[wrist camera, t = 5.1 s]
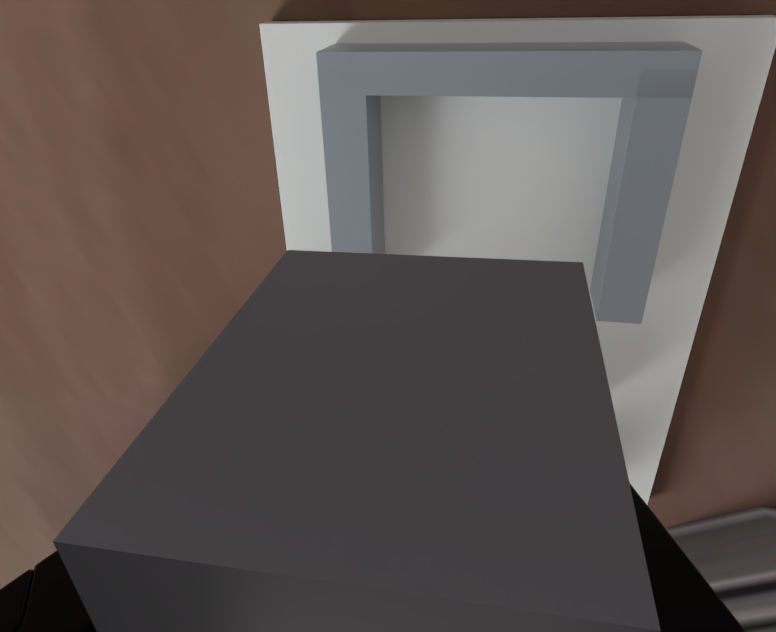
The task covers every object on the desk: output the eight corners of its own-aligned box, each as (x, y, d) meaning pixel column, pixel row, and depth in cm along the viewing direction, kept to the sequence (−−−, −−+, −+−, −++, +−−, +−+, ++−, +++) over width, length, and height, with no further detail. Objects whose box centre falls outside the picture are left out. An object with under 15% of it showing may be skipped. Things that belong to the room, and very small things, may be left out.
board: (639, 501, 23) (659, 588, 20) (319, 463, 25) (290, 535, 22) (771, 14, 15) (842, 29, 11) (269, 21, 17) (210, 35, 14)
